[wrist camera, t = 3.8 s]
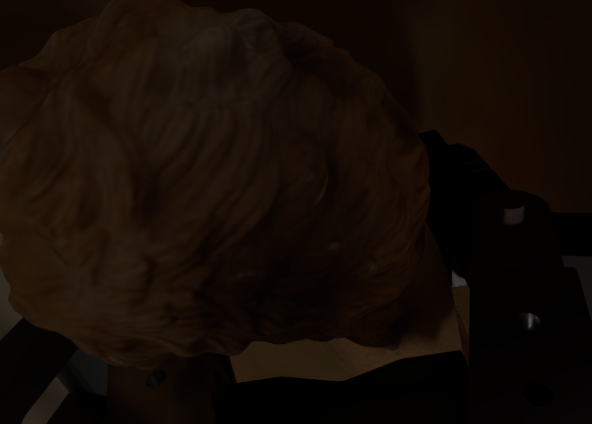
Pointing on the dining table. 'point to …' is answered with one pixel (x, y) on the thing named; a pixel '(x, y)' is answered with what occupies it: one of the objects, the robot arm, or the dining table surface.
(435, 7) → the dining table surface
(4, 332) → the plinth
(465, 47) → the dining table surface
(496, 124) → the dining table surface
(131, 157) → the lion figurine
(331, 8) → the dining table surface
